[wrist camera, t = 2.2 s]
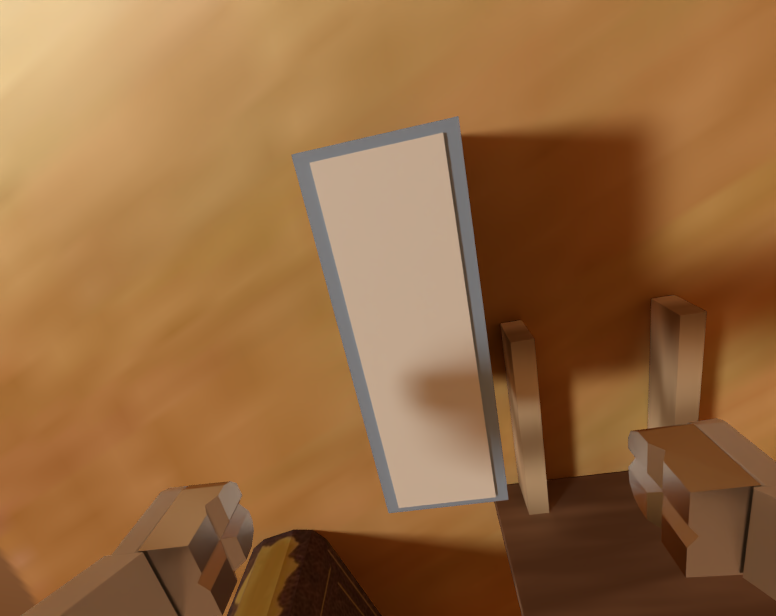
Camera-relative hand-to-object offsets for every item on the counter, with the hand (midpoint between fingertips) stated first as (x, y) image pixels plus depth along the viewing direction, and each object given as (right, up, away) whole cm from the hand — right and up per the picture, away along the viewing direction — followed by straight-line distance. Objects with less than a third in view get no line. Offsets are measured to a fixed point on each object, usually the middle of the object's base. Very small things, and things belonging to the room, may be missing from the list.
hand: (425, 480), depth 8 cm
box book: (+1, +6, +14) cm, 15 cm away
